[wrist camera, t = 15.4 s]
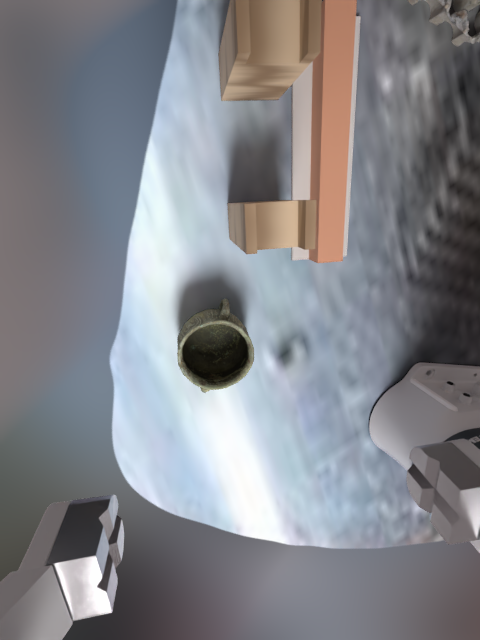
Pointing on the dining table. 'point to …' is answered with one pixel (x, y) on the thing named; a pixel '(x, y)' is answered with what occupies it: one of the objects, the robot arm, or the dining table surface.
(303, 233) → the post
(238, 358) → the vessel
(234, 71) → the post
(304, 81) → the mat
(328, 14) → the rail
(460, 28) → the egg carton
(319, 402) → the dining table surface
